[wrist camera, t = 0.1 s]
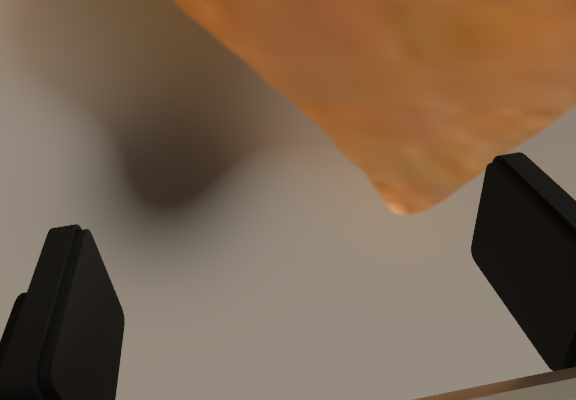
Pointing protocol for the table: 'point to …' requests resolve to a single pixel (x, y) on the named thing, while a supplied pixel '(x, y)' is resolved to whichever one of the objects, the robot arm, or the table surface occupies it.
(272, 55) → the table surface
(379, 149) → the table surface
